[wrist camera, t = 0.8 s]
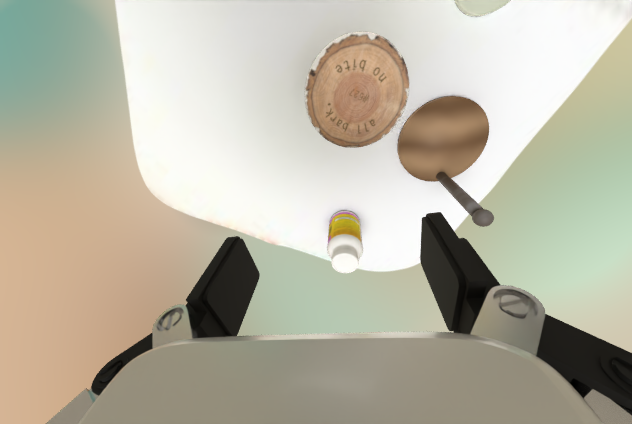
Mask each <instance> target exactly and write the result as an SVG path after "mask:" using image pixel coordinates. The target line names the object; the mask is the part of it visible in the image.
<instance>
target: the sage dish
mask: <svg viewBox="0 0 632 424" xmlns="http://www.w3.org/2000/svg"><path fill="white" fill-rule="evenodd" d="M510 1H511V0H455V3H456V5H457V7H458V8H459V9H460V11H461V12H463V13H464V14H466V15H468V16H473V17H478V16H483V15H486V14H489V13H491V12H493V11H496V10H498V9H499V8H501V7H503V6H504V5H506V4H507V3H508V2H510Z"/></svg>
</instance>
